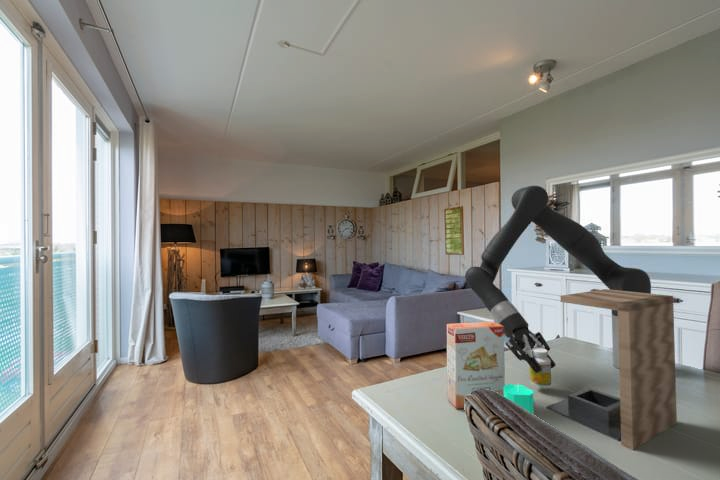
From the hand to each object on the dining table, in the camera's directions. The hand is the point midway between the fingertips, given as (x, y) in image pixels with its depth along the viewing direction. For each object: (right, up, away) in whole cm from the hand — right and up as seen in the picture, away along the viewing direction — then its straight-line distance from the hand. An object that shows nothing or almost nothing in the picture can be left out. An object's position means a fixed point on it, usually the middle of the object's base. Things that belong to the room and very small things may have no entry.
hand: (546, 369), depth 93 cm
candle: (-18, -7, -21) cm, 28 cm away
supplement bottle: (-1, -5, +2) cm, 5 cm away
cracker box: (-21, -7, -5) cm, 23 cm away
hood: (+9, -6, -15) cm, 18 cm away
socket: (+6, -6, -12) cm, 15 cm away
